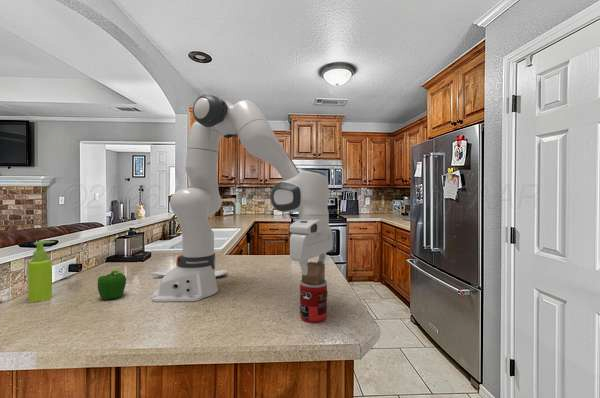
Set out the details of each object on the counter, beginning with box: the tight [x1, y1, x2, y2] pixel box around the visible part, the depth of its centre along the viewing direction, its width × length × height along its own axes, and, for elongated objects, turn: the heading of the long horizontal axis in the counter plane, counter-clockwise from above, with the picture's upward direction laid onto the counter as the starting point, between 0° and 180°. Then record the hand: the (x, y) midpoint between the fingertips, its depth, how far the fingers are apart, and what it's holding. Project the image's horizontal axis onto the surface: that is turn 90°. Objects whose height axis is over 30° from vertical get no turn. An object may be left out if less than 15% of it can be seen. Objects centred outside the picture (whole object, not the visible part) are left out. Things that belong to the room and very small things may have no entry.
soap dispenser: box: [27, 240, 56, 303], centre depth 95 cm, size 6×7×20 cm
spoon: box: [150, 267, 228, 278], centre depth 123 cm, size 9×32×4 cm, turn 90°
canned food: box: [299, 279, 328, 324], centre depth 82 cm, size 8×8×11 cm
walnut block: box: [301, 261, 326, 285], centre depth 82 cm, size 5×5×5 cm
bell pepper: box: [97, 269, 127, 301], centre depth 97 cm, size 8×8×10 cm
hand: (313, 270), depth 82 cm, fingers open, 8 cm apart
